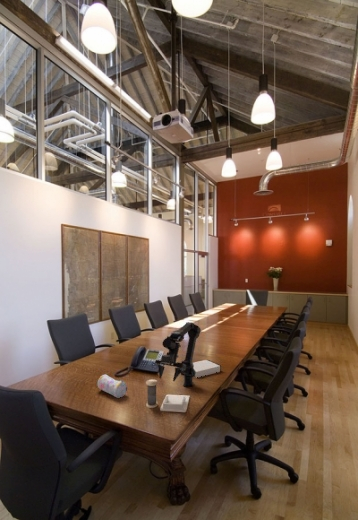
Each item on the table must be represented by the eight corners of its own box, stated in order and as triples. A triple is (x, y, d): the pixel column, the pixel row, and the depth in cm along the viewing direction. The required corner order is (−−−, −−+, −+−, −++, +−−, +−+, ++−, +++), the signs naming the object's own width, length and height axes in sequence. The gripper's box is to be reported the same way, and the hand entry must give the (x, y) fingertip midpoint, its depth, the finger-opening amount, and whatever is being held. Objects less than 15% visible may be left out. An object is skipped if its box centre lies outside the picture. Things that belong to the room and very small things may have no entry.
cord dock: (166, 396, 164) (166, 390, 165) (189, 397, 162) (189, 391, 162) (160, 410, 148) (160, 403, 148) (185, 412, 145) (185, 405, 146)
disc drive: (221, 372, 204) (221, 365, 204) (196, 378, 192) (196, 371, 192) (207, 365, 219) (206, 359, 219) (183, 371, 207) (183, 364, 207)
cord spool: (148, 402, 158) (147, 379, 158) (158, 402, 157) (158, 379, 157) (144, 407, 151) (144, 383, 152) (156, 408, 150) (155, 384, 151)
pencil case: (128, 395, 167) (128, 379, 167) (116, 400, 160) (116, 384, 161) (107, 386, 180) (107, 372, 181) (96, 391, 174) (96, 376, 174)
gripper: (153, 346, 164) (146, 374, 156) (181, 350, 155) (174, 379, 147) (162, 351, 172) (156, 377, 165) (189, 355, 163) (183, 383, 155)
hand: (166, 379), depth 158 cm, fingers open, 9 cm apart
